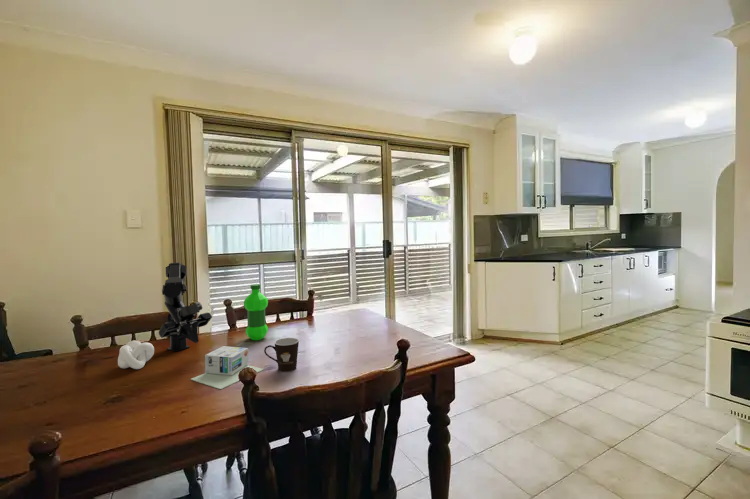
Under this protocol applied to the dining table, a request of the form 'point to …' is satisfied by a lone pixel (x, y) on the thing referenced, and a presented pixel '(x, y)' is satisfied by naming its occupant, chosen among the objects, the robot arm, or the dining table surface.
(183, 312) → the robot arm
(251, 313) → the plastic bottle
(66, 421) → the dining table surface
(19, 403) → the dining table surface
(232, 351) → the light bulb box
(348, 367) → the dining table surface
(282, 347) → the coffee mug
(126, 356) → the white decorative knot
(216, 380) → the mat
